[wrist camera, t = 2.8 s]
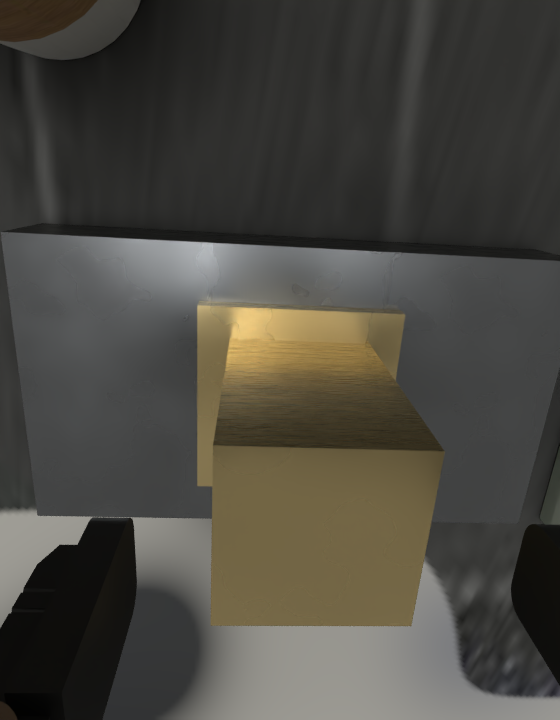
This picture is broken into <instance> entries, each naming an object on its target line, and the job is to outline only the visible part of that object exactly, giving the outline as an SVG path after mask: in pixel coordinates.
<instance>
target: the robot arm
mask: <svg viewBox="0 0 560 720" xmlns="http://www.w3.org/2000/svg"><path fill="white" fill-rule="evenodd" d="M136 588H137V577H136V558H135V540H134V525H133V520H132V519H131V518H92V519H91V520H90V521H89V523H88V525H87V527H86V529H85V531H84V533H83V535H82V537H81V539H80V541H79V543H78V545H59V546H58V547H57V548H56V549H55V550H54V551H52V552H51V553H50V554H49V555H48V556H46V557H45V558H44V559H43V560H42V561H41V562H40V563H38V564H37V566H36V568H35V569H34V571H33V573H32V574H31V576H30V578H29V580H28V581H27V583H26V585H25V587H24V590H23V593H21V594H20V595H19V597H18V599H17V600H16V602H15V604H14V606H13V607H12V612H11V614H8V616H7V618H6V620H5V621H4V623H3V625H2V627H1V628H0V720H103V716H104V713H105V709H106V706H107V702H108V699H109V695H110V692H111V688H112V685H113V681H114V678H115V674H116V671H117V667H118V664H119V661H120V657H121V654H122V650H123V646H124V643H125V640H126V636H127V633H128V629H129V625H130V622H131V619H132V615H133V610H134V605H135V599H136ZM511 596H512V602H513V606H514V609H515V612H516V614H517V616H518V618H519V620H520V621H521V623H522V625H523V626H524V628H525V630H526V631H527V633H528V634H529V636H530V638H531V639H532V641H533V643H534V644H535V646H536V648H537V649H538V651H539V652H540V654H541V656H542V657H543V659H544V661H545V662H546V664H547V666H548V667H549V669H550V670H551V672H552V674H553V675H554V677H555V679H556V680H557V682H558V684H559V685H560V525H552V524H532V525H529V526H528V527H527V528H526V530H525V533H524V536H523V540H522V544H521V548H520V552H519V556H518V560H517V564H516V568H515V572H514V575H513V579H512V584H511Z"/></svg>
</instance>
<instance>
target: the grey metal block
mask: <svg viewBox="0 0 560 720" xmlns="http://www.w3.org/2000/svg"><path fill="white" fill-rule="evenodd" d="M1 239H2V247H3V255H4V262H5V270H6V278H7V285H8V293H9V300H10V308H11V316H12V323H13V331H14V339H15V346H16V354H17V362H18V369H19V377H20V385H21V392H22V400H23V408H24V415H25V423H26V430H27V438H28V446H29V453H30V461H31V469H32V476H33V484H34V492H35V499H36V507H37V515H38V516H93V517H94V516H95V517H153V518H157V517H158V518H212V486H197V305H198V303H199V301H214V302H237V303H259V304H282V305H304V306H327V307H349V308H372V309H394V310H401V311H402V312H403V313H404V314H405V320H404V327H403V334H402V341H401V347H400V354H399V361H398V368H397V375H396V382H397V384H398V385H399V386H400V388H401V389H402V391H403V392H404V394H405V395H406V396H407V398H408V399H409V401H410V402H411V404H412V405H413V406H414V408H415V409H416V411H417V412H418V414H419V415H420V416H421V418H422V419H423V421H424V422H425V424H426V425H427V427H428V428H429V429H430V431H431V432H432V434H433V435H434V437H435V438H436V439H437V441H438V442H439V444H440V445H441V447H442V448H443V449H444V451H445V454H444V459H443V464H442V469H441V474H440V480H439V485H438V490H437V495H436V500H435V505H434V511H433V516H432V521H431V522H452V523H512V524H518V523H519V519H520V515H521V512H522V508H523V504H524V500H525V496H526V493H527V489H528V485H529V481H530V478H531V474H532V470H533V466H534V463H535V459H536V455H537V451H538V448H539V444H540V440H541V436H542V432H543V429H544V425H545V421H546V417H547V414H548V410H549V406H550V402H551V399H552V395H553V391H554V387H555V384H556V380H557V376H558V372H559V368H560V255H556V254H552V253H548V252H544V251H540V250H530V249H511V248H492V247H474V246H455V245H436V244H418V243H399V242H380V241H361V240H343V239H324V238H305V237H286V236H268V235H249V234H230V233H211V232H193V231H174V230H155V229H136V228H118V227H99V226H80V225H61V224H43V223H42V224H37V225H32V226H27V227H22V228H17V229H12V230H7V231H3V232H1Z"/></svg>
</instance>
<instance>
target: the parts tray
mask: <svg viewBox="0 0 560 720" xmlns="http://www.w3.org/2000/svg"><path fill="white" fill-rule="evenodd" d="M539 518H540V520H541V521H542V522H543V523H544V524H552V525H560V446H559V450H558V453H557V457H556V461H555V464H554V468H553V471H552V475H551V478H550V482H549V485H548V489H547V492H546V496H545V500H544V503H543V507H542V510H541V514H540V517H539Z"/></svg>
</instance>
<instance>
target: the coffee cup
mask: <svg viewBox="0 0 560 720" xmlns="http://www.w3.org/2000/svg"><path fill="white" fill-rule="evenodd" d="M140 1H141V0H0V44H3V45H6V46H8V47H11V48H14V49H17V50H19V51H22V52H25V53H29V54H32V55H35V56H38V57H42V58H46V59H56V60H70V59H77V58H83V57H86V56H88V55H91V54H94V53H96V52H99V51H100V50H102V49H103V48H105V47H106V46H108V45H109V44H111V43H112V42H114V41H115V40H116V39H117V38H118V37H119V36H120V34H121V33H122V32H123V31H124V30H125V29H126V28H127V27H128V25H129V23H130V22H131V20H132V18H133V16H134V15H135V13H136V11H137V9H138V6H139V4H140Z"/></svg>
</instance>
